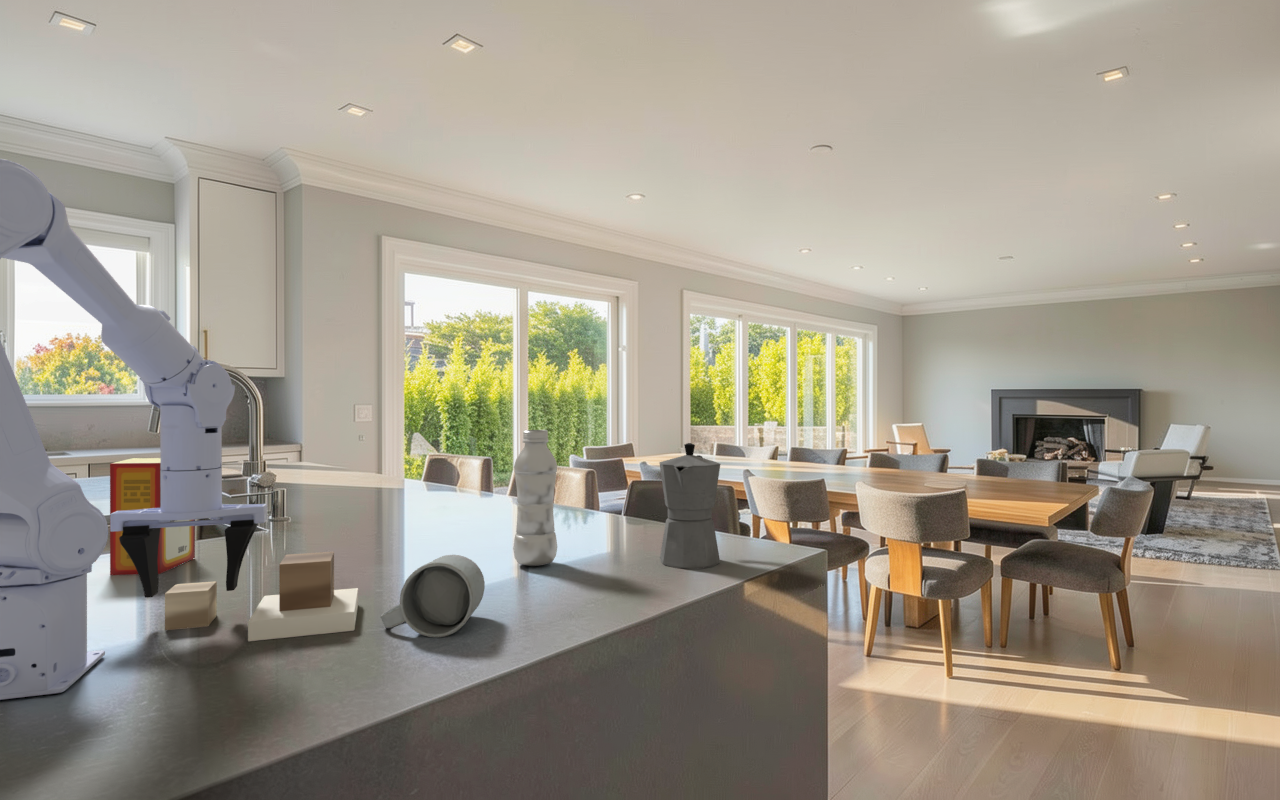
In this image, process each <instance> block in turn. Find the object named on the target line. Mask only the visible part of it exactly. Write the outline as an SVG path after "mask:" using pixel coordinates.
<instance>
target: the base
mask: <svg viewBox="0 0 1280 800" xmlns="http://www.w3.org/2000/svg"><path fill="white" fill-rule="evenodd" d="M358 607H359V588H358V587H353V588H343V589H334V597H333V600H332V604H331V607H322V608H311V609H300V610H289V611H279V594H272V595H271V594H270V595H269V594H268V595H264V596H263V597H262V599H261V601H260V602H259V603H258V605H257V606H256V608H255V610H254V611H253V613H252V614H251V616H250V618H249V619H248V622H247V641H248V642H255V641H264V640H265V641H266V640H273V639H275V640H276V639H284V638H285V639H286V638H294V637H295V638H296V637H303V636H306V637H307V636H314V635H324V634H325V635H326V634H332V633H333V634H334V633H335V634H336V633H344V632H354V631H355V628H356V621H357V615H358V614H357V613H358V610H359V609H358Z"/></svg>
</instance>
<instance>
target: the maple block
mask: <svg viewBox="0 0 1280 800" xmlns="http://www.w3.org/2000/svg"><path fill="white" fill-rule="evenodd" d="M217 584H218V581H214V580H213V581H203V582H202V581H201V582H187V583H176V584H175V585H173V586H172V587H170V589H168V590H167V591H166V592H165V593H164V631H172V630H173V631H174V630H183V629H194V628H195V629H196V628H204V627H205V628H206V627H209V626H210V624H212V622H213V621H214V619H215V618H216V617H218V616H217V615H218V613H217V612H218V607H217V603H218V598H217V596H218V595H217V594H218V592H217V591H218V585H217Z"/></svg>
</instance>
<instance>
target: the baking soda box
mask: <svg viewBox="0 0 1280 800" xmlns="http://www.w3.org/2000/svg"><path fill="white" fill-rule="evenodd" d="M160 470H161V459H160V457H147V458H144V457H143V458H142V457H137V458H136V457H133V458H128V459H124V460H120V461H116V462H115V461H114V462H112V463H109V515H110V514H111V513H113V512H116V511H125V510H139V509H150V508H161V487H160ZM178 521H196V519H194V520H170V522H178ZM122 533H123V531H114V532H111V531H110V530H109V575H110V576H125V575H127V576H129V575H130V576H132V575H139V574H138V572H137V570H136V567H135V565H134V563H133V562H132V560H131V558H130V557H129V555H128V553H127V552H126V550H125V549H124V548H123V546H122V545H121V543H120V540H119V537H120V536H122ZM193 558H196V526H184V527H166V528H160V536H159V545H158V575H161V574H162V573H165V572H168V571H169V570H173V569H174V567H175V568H177V567H179V566H181V565H180V564H182V563H184V562H186V563H188V562H187V561H189V560H191V559H193ZM193 560H194V559H193ZM191 561H192V560H191ZM189 562H190V561H189ZM184 564H185V563H184ZM178 565H179V566H178ZM182 565H183V564H182Z"/></svg>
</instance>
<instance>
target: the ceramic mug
mask: <svg viewBox="0 0 1280 800" xmlns="http://www.w3.org/2000/svg"><path fill="white" fill-rule="evenodd" d="M485 587H486V586H485V577H484V573H483V572H482V570H481V568H480V567H479V566H478V564H477V563H476V562H475V561H473V560H472V559H470V558H468V557H466V556H464V555H460V554H446V555H442V556H440V557H438V558H435V559H433V560H431V561H429V562H428V563H425V564H423V565H421V566H420V567H418V568H416V569H415V570H414V571H413V572H412V573H411V574H410V575H409V576H408V577H407V578H406V580H405V582H404V584H403V585H402V588H401V591H400V596H399V604H397V605H395V606H393V607H391V608H389V609H387V610H386V611H385V612H383V613H382V614H381V615H380V619H381V622H382V624H383V626H384V628H385V629H391V628H393V627H396V626H399V625H401V624H403V623H406V624H407V625H408V626H409V627H410V629H412V630H413V631H414V632H416V633H418V634H419V635H421V636H424V637H429V638H442V637H447V636H450V635H452V634H455V633H456V632H458V631H459V630H460V629H461V628H462V627H464V625H466V623H467V622H468V621H469V619H470V617H471V616H472V615H473V614H474V612H475V611H476V610H477V608H479V606H480V604H481V602H482V600H483V598H484V593H485Z"/></svg>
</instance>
